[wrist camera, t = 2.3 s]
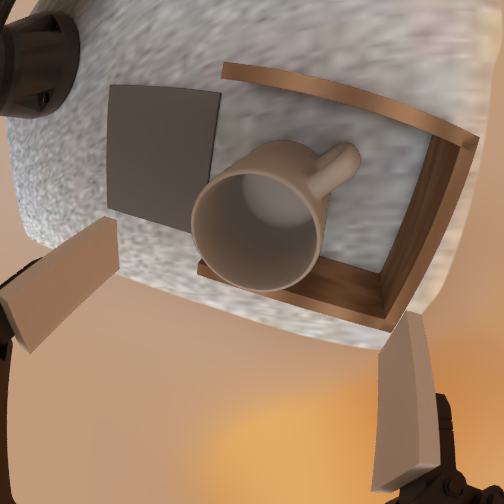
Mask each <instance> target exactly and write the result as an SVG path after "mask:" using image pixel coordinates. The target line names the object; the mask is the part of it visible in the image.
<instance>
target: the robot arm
mask: <svg viewBox="0 0 504 504" xmlns="http://www.w3.org/2000/svg"><path fill="white" fill-rule="evenodd" d="M15 1H16V0H0V116H7V117H17V118H25V119H34V118H38V117H42V116H46V115H49V114H51V113H52V112H54V111H55V110H56V109H57V108H58V107H59V106H60V105H61V104H62V103H63V101H64V100H65V98H66V96H67V95H68V93H69V91H70V89H71V86H72V84H73V81H74V78H75V74H76V70H77V66H78V59H79V37H78V32H77V28H76V26H75V24H74V22H73V20H72V19H71V18H70V17H69V16H68V15H67V14H65V13H63V12H55V11H45V12H40V13H37V14H34V15H31V16H28V17H25V18H23V19H20V20H17V21H15V22H13V23H10V24H7V25H4V24H5V22H6V20H7V18H8V16H9V13H10V11H11V9H12V7H13V5H14V3H15ZM119 269H120V267H119V255H118V241H117V224H116V220H115V219H111V218H108V217H105V216H104V217H102V218H101V219H99V220H97V221H96V222H94V223H93V224H91V225H90V226H88V227H87V228H85V229H84V230H82V231H80V232H79V233H77V234H76V235H74V236H73V237H72V238H70V239H69V240H67V241H66V242H64V243H63V244H61V245H60V246H58V247H57V248H55V249H54V250H53V251H51V252H50V253H48V254H47V255H46V256H44V257H41V258H39V259H36V260H34V261H32V262H30V263H29V264H28V265H26V266H25V267H24V268H23V269H21V270H20V271H18V272H17V274H14V275H13V276H12V277H10V278H9V279H8V280H7V281H5V282H4V283H3V284H1V285H0V504H16V503H15V501H14V500H13V498H12V494H11V487H10V479H9V469H8V456H7V455H8V454H7V398H8V382H9V372H10V362H11V354H12V347H13V343H12V340H11V338H12V337H13V336H14V335H15V337H16V339H17V341H18V343H19V345H20V346H21V347H22V348H24V349H25V350H26V351H27V352H29V353H30V354H31V353H32V352H33V351H34V350H35V349H36V348H37V347H38V346H39V345H40V344H41V342H42V341H44V340H45V339H46V338H47V336H49V335H50V334H51V332H52V331H54V330H55V328H57V326H58V325H60V324H61V323H62V322H63V321H64V320H65V319H66V318H67V317H68V316H69V315H70V314H71V313H72V312H73V311H74V310H75V309H76V308H77V307H78V306H79V305H80V304H81V303H82V302H83V301H85V300H86V299H87V298H88V297H89V296H90V295H91V294H92V293H93V292H94V291H95V290H96V289H98V287H100V286H101V285H102V284H103V283H104V282H105V281H106V280H107V279H109V278H110V277H111V276H112V275H113V274H114V273H115V272H116V271H117V270H119ZM378 368H379V369H378V371H379V373H378V374H379V375H378V377H379V378H378V417H377V435H376V448H375V460H374V470H373V479H372V487H371V492H377V493H392V492H394V491H396V490H398V489H400V494H399V497H397V498H395V499H393V500H390V501H388V502H387V503H385V504H504V491H503V489H501V488H500V487H499V486H496V485H493V486H489V487H488V488H486V489H484V490H480V489H477V488H474V487H472V486H469V485H467V483H466V479H465V477H464V476H463V474H462V473H461V472H459V471H458V470H456V463H455V446H454V435H453V431H452V430H453V424H452V421H451V420H452V417H451V408H450V405H449V403H448V401H447V399H446V397H445V395H444V394H438V393H435V388H434V380H433V374H432V368H431V362H430V355H429V350H428V344H427V339H426V334H425V329H424V324H423V320H422V315H420V314H417V313H414V312H410V311H407V310H406V311H405V313H404V314H403V316H402V318H401V320H400V321H399V323H398V325H397V326H396V328H395V329H394V331H393V333H392V334H391V336H390V337H389V339H388V341H387V342H386V344H385V345H384V347H383V348H382V350H381V351H380V353H379V354H378Z"/></svg>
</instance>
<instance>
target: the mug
mask: <svg viewBox="0 0 504 504" xmlns="http://www.w3.org/2000/svg"><path fill="white" fill-rule="evenodd" d="M360 162H361V157H360V154H359V152H358V150H357V148H356V147H355V146H354V145H352V144H351V143H343V144H340V145H338V146H337V147H335V148H333V149H332V150H330V151H328V152H327V153H325V154H324V155H322V156H321V157H318V155H316V154H315V153H314V152H313V151H312V150H310V149H309V148H307V147H306V146H304V145H302V144H299V143H296V142H292V141H284V140H283V141H273V142H269V143H266V144H264V145H262V146H259V147H258V148H256V149H255V150H253V151H252V152H251V153H250V154H248V155H247V156H245V157H244V158H242V159H241V160H240V161H238V162H237V163H235V164H234V165H232V166H231V167H229V168H228V169H226V170H225V171H224V172H222V173H221V174H219V175H218V176H216V177H215V178H214V179H212V180H211V181H210V182H209V183H208V184H207V185H206V186H205V187H204V188H203V190H202V191H201V192H200V194H199V195H198V197H197V199H196V201H195V204H194V207H193V211H192V215H191V231H192V236H193V240H194V243H195V246H196V248H197V250H198V252H199V254H200V256H201V257H202V259H203V260H204V262H205V263H206V264H207V265H208V267H209V268H210V269H211V270H212V271H213V272H214V273H216V274H217V275H218V276H219V277H221V278H222V279H224V280H225V281H227V282H229V283H230V284H232V285H235V286H237V287H239V288H243V289H246V290H250V291H257V292H272V291H278V290H282V289H285V288H288V287H290V286H292V285H294V284H296V283H297V282H299V281H300V280H302V279H303V278H304V277H305V276H306V275H307V274H308V273H309V272H310V271H311V269H312V268H313V266H314V265H315V263H316V261H317V259H318V257H319V254H320V251H321V247H322V242H323V236H324V230H325V223H326V217H327V211H328V205H329V200H330V194H331V191H332V190H334V189H335V188H337V187H338V186H340V185H341V184H343V183H344V182H345V181H347V180H348V179H349V178H350V177H351V176H353V175H354V173H355V172H356V171H357V170H358V168H359V166H360Z"/></svg>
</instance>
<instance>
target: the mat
mask: <svg viewBox="0 0 504 504" xmlns="http://www.w3.org/2000/svg"><path fill="white" fill-rule="evenodd" d="M220 99H221V93H218V92H210V91H202V90H193V89H183V88H171V87H158V86H138V85H110V91H109V104H108V121H107V205H108V208H109V209H112V210H115V211H119V212H122V213H125V214H129V215H132V216H135V217H139V218H142V219H145V220H149V221H152V222H155V223H159V224H162V225H165V226H169V227H172V228H175V229H179V230H182V231H185V232H189V233H192V231H191V215H192V211H193V207H194V204H195V201H196V199H197V197H198V195H199V194H200V192H201V191H202V190H203V188H204V187H205V186H206V185H207V184H208V183H209V177H210V169H211V161H212V153H213V146H214V139H215V132H216V125H217V118H218V111H219V105H220Z"/></svg>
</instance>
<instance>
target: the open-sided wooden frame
mask: <svg viewBox="0 0 504 504" xmlns="http://www.w3.org/2000/svg"><path fill="white" fill-rule="evenodd" d="M221 78H222V79H230V80H237V81H244V82H250V83H256V84H262V85H268V86H273V87H278V88H283V89H288V90H293V91H298V92H302V93H307V94H311V95H315V96H319V97H323V98H327V99H331V100H334V101H338V102H342V103H345V104H349V105H352V106H355V107H359V108H362V109H365V110H368V111H372V112H375V113H378V114H381V115H384V116H386V117H389V118H392V119H395V120H398V121H400V122H403V123H406V124H408V125H411V126H414V127H416V128H419V129H421V130H424V131H426V132H429V133H431V134H433V135H432V138H431V142H430V145H429V148H428V152H427V155H426V158H425V161H424V164H423V167H422V170H421V173H420V176H419V179H418V182H417V185H416V188H415V191H414V193H413V196H412V199H411V202H410V204H409V207H408V209H407V212H406V215H405V217H404V220H403V222H402V225H401V227H400V230H399V232H398V235H397V237H396V239H395V242H394V244H393V247H392V249H391V251H390V253H389V256H388V258H387V260H386V263H385V265H384V267H383V269H382V271H381V274H380V275H379V274H376V273H373V272H370V271H366V270H363V269H360V268H357V267H353V266H350V265H347V264H343V263H340V262H337V261H334V260H330V259H327V258H324V257H320V256H319V257H318V259H317V261H316V263H315V265H314V266H313V268H312V269H311V271H310V272H309V273H308V274H307V275H306V276H305V277H304V278H303V279H302V280H300V281H299V282H297V283H296V284H294V285H292V286H290V287H288V288H285V289H282V290H278V291H272V292H257V291H250V290H247V291H250V292H253V293H256V294H259V295H262V296H266V297H269V298H272V299H275V300H278V301H282V302H285V303H288V304H292V305H295V306H298V307H301V308H305V309H308V310H312V311H315V312H318V313H322V314H325V315H329V316H332V317H335V318H339V319H342V320H346V321H349V322H353V323H357V324H360V325H364V326H367V327H371V328H375V329H378V330H382V331H386V332H389V333H391V332H392V331H393V329H394V327H395V326H396V324H397V323H398V321H399V319H400V318H401V316H402V314H403V313H404V311H405V309H406V307H407V306H408V304H409V302H410V300H411V299H412V297H413V295H414V293H415V291H416V290H417V288H418V286H419V284H420V282H421V280H422V278H423V276H424V274H425V273H426V271H427V269H428V267H429V265H430V263H431V261H432V259H433V257H434V255H435V252H436V250H437V248H438V246H439V244H440V242H441V240H442V237H443V235H444V233H445V231H446V229H447V226H448V224H449V222H450V219H451V217H452V215H453V212H454V210H455V207H456V205H457V202H458V200H459V197H460V195H461V192H462V189H463V187H464V184H465V181H466V178H467V175H468V173H469V170H470V167H471V164H472V161H473V158H474V155H475V151H476V148H477V145H478V141H479V138H480V137H478V136H476V135H474V134H472V133H470V132H468V131H466V130H464V129H462V128H460V127H457V126H455V125H453V124H451V123H449V122H447V121H444V120H442V119H440V118H438V117H435V116H433V115H431V114H428V113H426V112H423V111H421V110H418V109H416V108H413V107H411V106H408V105H405V104H403V103H400V102H397V101H395V100H392V99H389V98H386V97H383V96H380V95H377V94H374V93H371V92H368V91H364V90H361V89H358V88H354V87H351V86H347V85H344V84H340V83H336V82H332V81H329V80H325V79H320V78H316V77H312V76H307V75H303V74H298V73H293V72H288V71H283V70H277V69H272V68H266V67H259V66H252V65H245V64H237V63H229V62H224V64H223V69H222V75H221ZM197 274H198V275H201V276H204V277H207V278H210V279H213V280H216V281H219V282H222V283H225V284H228V285H231V286H234V287H237V286H235V285H232V284H230V283H229V282H227V281H225V280H224V279H222V278H221V277H219V276H218V275H217V274H216V273H214V272H213V271H212V270H211V269H210V268H209V267H208V265H207V264H206V263H205V262H204V260H203V259H201V260H200V261H199V263H198V270H197ZM237 288H239V287H237ZM240 289H243V288H240ZM243 290H246V289H243Z"/></svg>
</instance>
